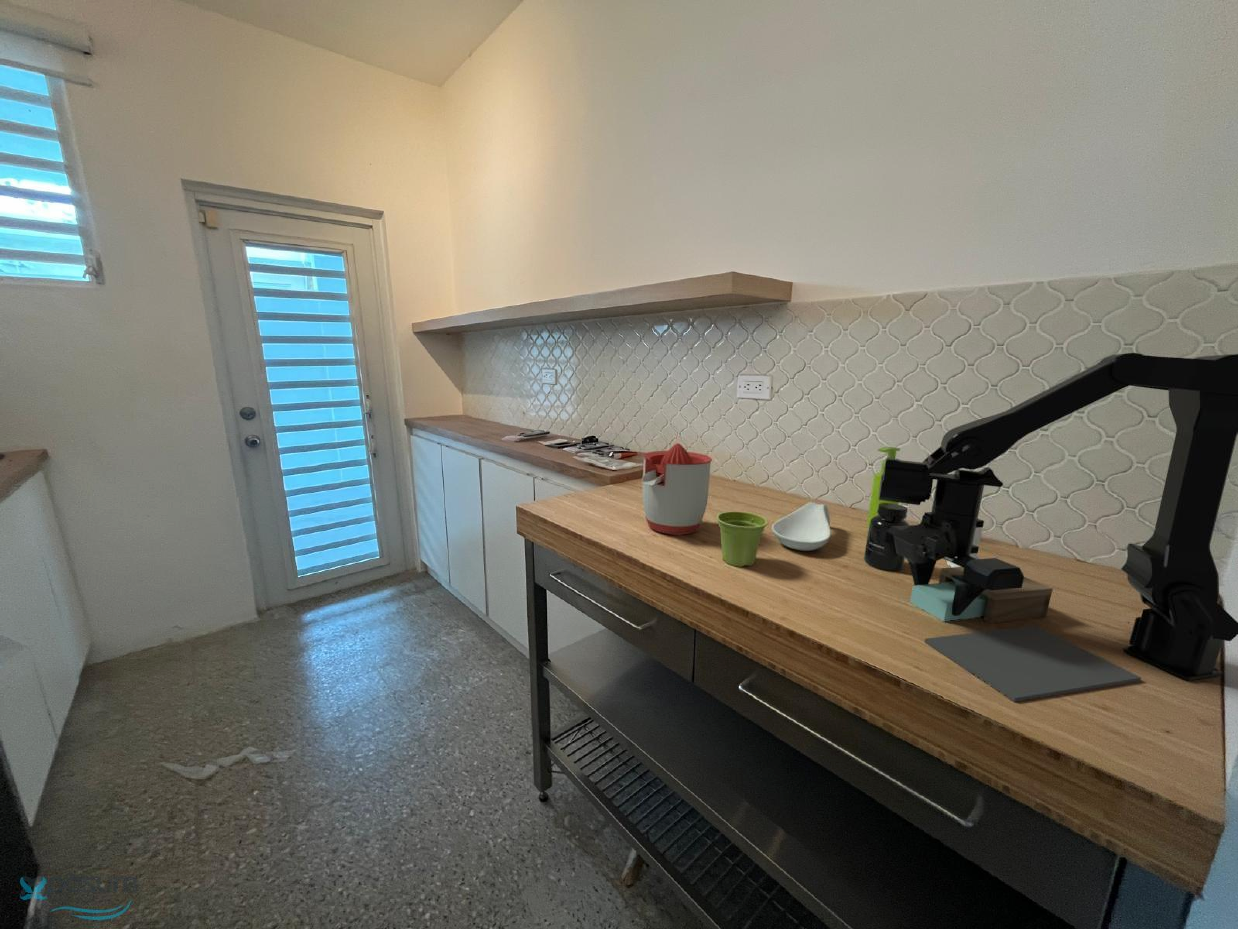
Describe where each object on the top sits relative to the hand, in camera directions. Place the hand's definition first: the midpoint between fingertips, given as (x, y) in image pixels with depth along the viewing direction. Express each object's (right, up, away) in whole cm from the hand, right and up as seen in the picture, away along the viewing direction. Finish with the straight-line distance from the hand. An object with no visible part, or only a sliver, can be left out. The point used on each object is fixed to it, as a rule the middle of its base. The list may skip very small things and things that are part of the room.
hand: (937, 604), depth 73 cm
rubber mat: (+3, -4, -12) cm, 13 cm away
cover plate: (+5, -1, +1) cm, 5 cm away
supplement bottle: (+2, +2, +18) cm, 18 cm away
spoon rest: (-8, +5, +31) cm, 33 cm away
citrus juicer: (-38, +7, +35) cm, 52 cm away
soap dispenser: (+13, +6, +39) cm, 42 cm away
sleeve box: (+10, -1, +2) cm, 11 cm away
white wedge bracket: (+16, +1, +16) cm, 23 cm away
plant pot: (-27, +3, +17) cm, 32 cm away
